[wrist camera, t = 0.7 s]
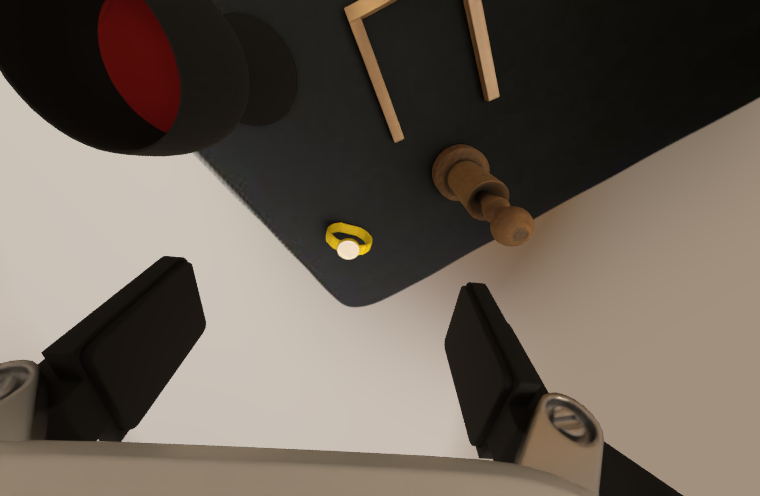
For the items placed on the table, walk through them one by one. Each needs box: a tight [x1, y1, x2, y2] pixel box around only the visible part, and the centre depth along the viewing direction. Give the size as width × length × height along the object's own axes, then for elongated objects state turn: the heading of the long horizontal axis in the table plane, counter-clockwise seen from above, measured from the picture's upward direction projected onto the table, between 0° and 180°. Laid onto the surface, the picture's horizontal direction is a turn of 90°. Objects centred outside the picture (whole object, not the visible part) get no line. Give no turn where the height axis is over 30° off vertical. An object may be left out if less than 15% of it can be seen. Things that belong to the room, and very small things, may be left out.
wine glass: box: [0, 0, 297, 156], centre depth 22 cm, size 10×10×20 cm
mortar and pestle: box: [432, 144, 534, 246], centre depth 28 cm, size 7×6×18 cm
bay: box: [344, 0, 500, 143], centre depth 30 cm, size 12×13×2 cm
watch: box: [326, 222, 372, 260], centre depth 38 cm, size 6×3×6 cm, turn 72°
